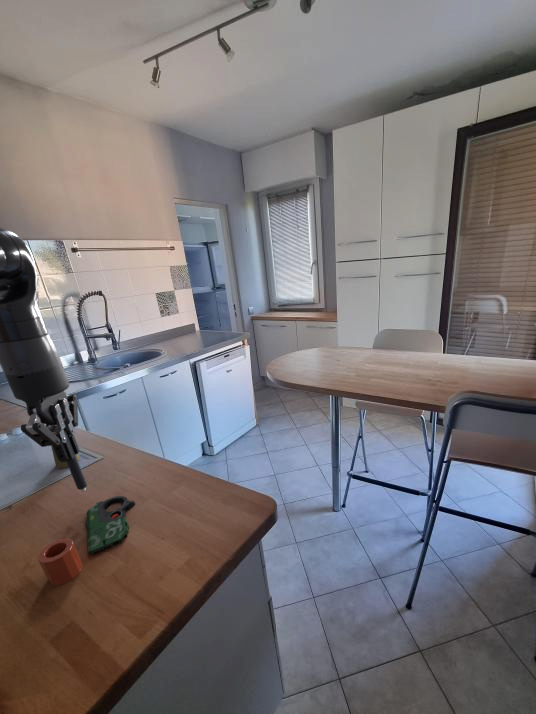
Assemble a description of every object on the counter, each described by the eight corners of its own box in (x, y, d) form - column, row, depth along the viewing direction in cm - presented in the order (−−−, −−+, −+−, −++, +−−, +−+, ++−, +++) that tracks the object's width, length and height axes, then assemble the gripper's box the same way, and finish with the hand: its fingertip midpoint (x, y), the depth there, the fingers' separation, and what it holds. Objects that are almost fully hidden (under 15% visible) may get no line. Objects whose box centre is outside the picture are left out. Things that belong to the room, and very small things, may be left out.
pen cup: (44, 589, 59) (31, 564, 56) (59, 564, 63) (47, 541, 61) (75, 583, 59) (63, 559, 57) (88, 559, 64) (77, 536, 62)
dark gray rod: (77, 493, 62) (53, 435, 57) (81, 488, 64) (57, 431, 59) (86, 492, 62) (63, 434, 57) (90, 487, 64) (67, 429, 59)
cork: (52, 465, 97) (38, 431, 93) (74, 455, 101) (61, 422, 97) (61, 471, 94) (46, 436, 89) (83, 460, 98) (71, 427, 94)
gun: (141, 531, 68) (85, 554, 63) (143, 536, 69) (88, 559, 64) (131, 490, 81) (84, 507, 76) (133, 495, 82) (86, 512, 77)
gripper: (32, 356, 59) (66, 441, 66) (-25, 382, 47) (24, 483, 53) (77, 352, 60) (106, 436, 67) (33, 376, 47) (74, 476, 54)
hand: (70, 456), depth 60 cm, fingers closed on dark gray rod, 1 cm apart
